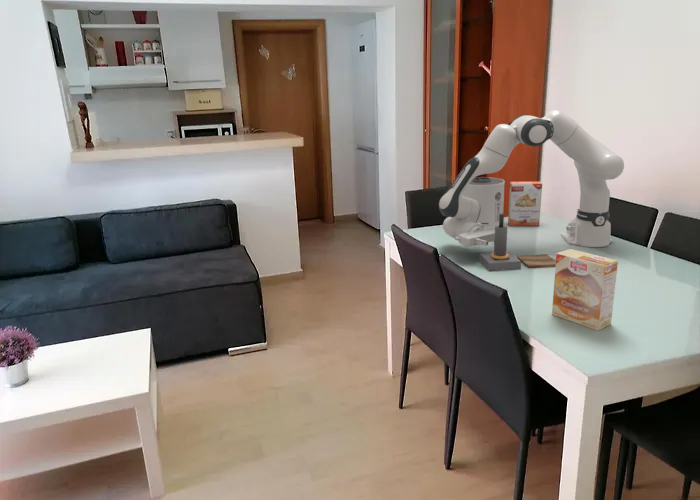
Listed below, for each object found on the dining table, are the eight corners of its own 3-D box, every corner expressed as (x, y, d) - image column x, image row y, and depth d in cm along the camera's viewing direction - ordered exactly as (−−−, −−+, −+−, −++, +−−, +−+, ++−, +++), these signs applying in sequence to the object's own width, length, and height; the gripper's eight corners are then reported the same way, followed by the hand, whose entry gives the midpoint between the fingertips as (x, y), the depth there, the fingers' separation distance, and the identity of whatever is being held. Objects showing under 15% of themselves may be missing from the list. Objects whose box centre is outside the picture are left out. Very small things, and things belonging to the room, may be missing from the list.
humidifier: (465, 233, 247) (467, 184, 240) (451, 222, 266) (452, 176, 260) (509, 229, 249) (512, 180, 242) (492, 219, 269) (494, 173, 262)
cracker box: (509, 226, 255) (511, 183, 248) (507, 223, 260) (509, 181, 254) (539, 226, 252) (542, 183, 246) (537, 223, 258) (540, 180, 252)
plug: (488, 262, 206) (490, 212, 200) (504, 261, 207) (507, 211, 201) (494, 268, 200) (495, 216, 194) (510, 266, 200) (513, 215, 195)
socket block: (479, 260, 209) (479, 253, 208) (509, 258, 209) (509, 251, 208) (489, 270, 197) (489, 263, 196) (520, 268, 198) (521, 261, 197)
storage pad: (516, 258, 210) (517, 256, 209) (546, 256, 210) (546, 254, 210) (528, 268, 198) (528, 265, 198) (559, 266, 199) (560, 263, 198)
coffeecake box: (550, 314, 159) (555, 252, 153) (565, 308, 163) (570, 247, 157) (597, 331, 147) (604, 265, 141) (611, 324, 151) (619, 259, 145)
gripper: (452, 230, 209) (475, 237, 197) (492, 222, 218) (516, 229, 206) (452, 245, 211) (474, 254, 199) (491, 236, 220) (515, 244, 208)
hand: (496, 241), depth 203 cm, fingers open, 8 cm apart
